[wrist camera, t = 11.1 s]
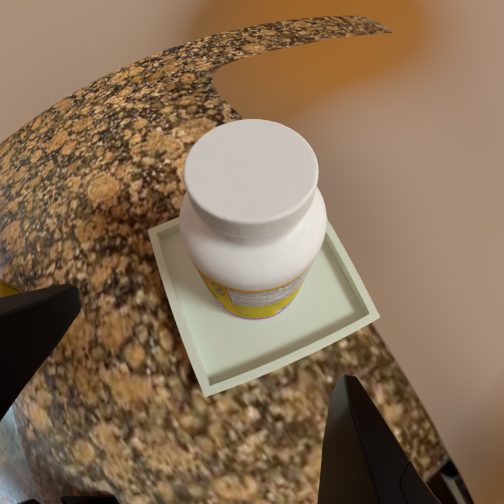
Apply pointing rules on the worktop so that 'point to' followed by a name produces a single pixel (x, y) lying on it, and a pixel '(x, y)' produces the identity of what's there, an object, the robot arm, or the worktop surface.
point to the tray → (259, 331)
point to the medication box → (8, 289)
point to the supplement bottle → (252, 215)
